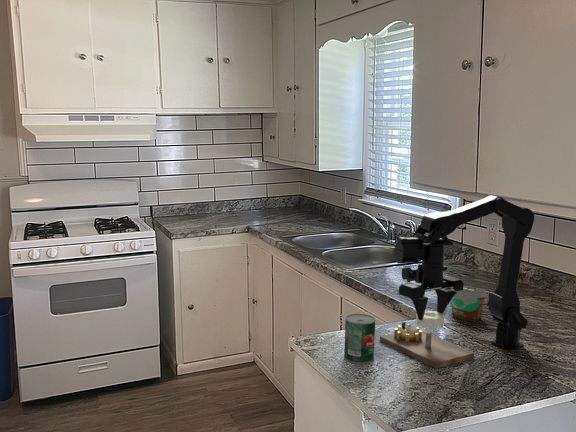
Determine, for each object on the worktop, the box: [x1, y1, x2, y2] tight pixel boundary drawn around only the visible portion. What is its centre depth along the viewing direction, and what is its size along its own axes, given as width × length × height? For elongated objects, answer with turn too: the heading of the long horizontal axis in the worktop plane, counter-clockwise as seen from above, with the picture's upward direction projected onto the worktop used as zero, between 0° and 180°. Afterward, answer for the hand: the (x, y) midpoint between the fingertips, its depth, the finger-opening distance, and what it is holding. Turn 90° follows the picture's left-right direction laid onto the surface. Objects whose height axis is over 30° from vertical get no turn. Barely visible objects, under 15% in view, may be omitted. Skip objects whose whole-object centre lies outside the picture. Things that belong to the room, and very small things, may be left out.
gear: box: [393, 321, 423, 342], centre depth 168 cm, size 8×8×4 cm
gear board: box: [379, 328, 475, 370], centre depth 164 cm, size 14×22×6 cm, turn 31°
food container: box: [451, 286, 488, 322], centre depth 191 cm, size 12×6×10 cm, turn 47°
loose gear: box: [415, 309, 445, 329], centre depth 161 cm, size 7×7×2 cm
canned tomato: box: [343, 313, 376, 365], centre depth 157 cm, size 8×8×11 cm
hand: (430, 317), depth 161 cm, fingers closed on loose gear, 7 cm apart
